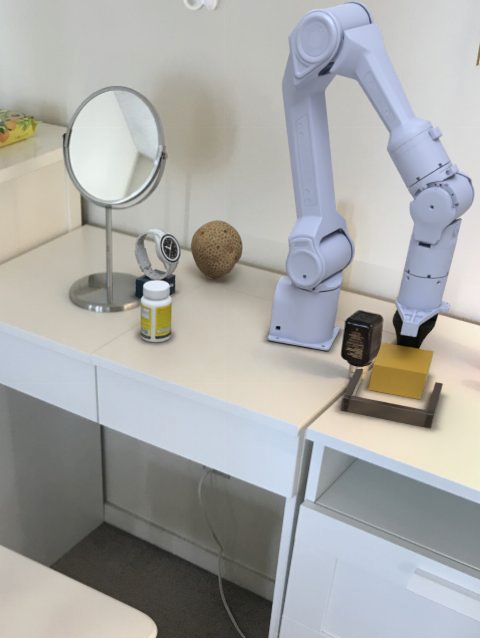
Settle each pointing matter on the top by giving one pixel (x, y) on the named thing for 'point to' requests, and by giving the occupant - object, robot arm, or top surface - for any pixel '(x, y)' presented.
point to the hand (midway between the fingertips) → (405, 361)
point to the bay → (389, 405)
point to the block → (400, 370)
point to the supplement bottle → (156, 311)
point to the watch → (167, 255)
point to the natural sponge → (216, 248)
